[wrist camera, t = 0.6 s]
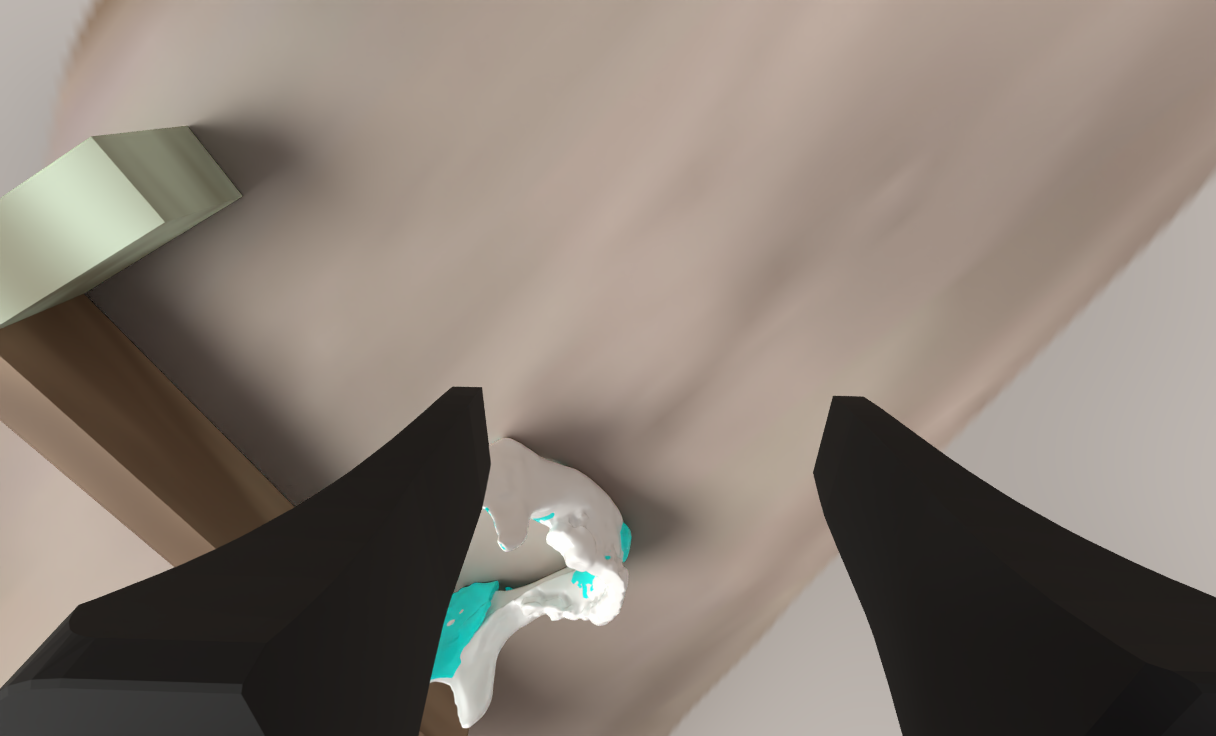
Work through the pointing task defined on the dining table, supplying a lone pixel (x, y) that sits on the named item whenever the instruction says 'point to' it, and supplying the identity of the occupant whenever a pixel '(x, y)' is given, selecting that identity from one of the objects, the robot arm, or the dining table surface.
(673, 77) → the dining table surface
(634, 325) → the dining table surface
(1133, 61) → the dining table surface
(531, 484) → the jawbone
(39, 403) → the cleat board
